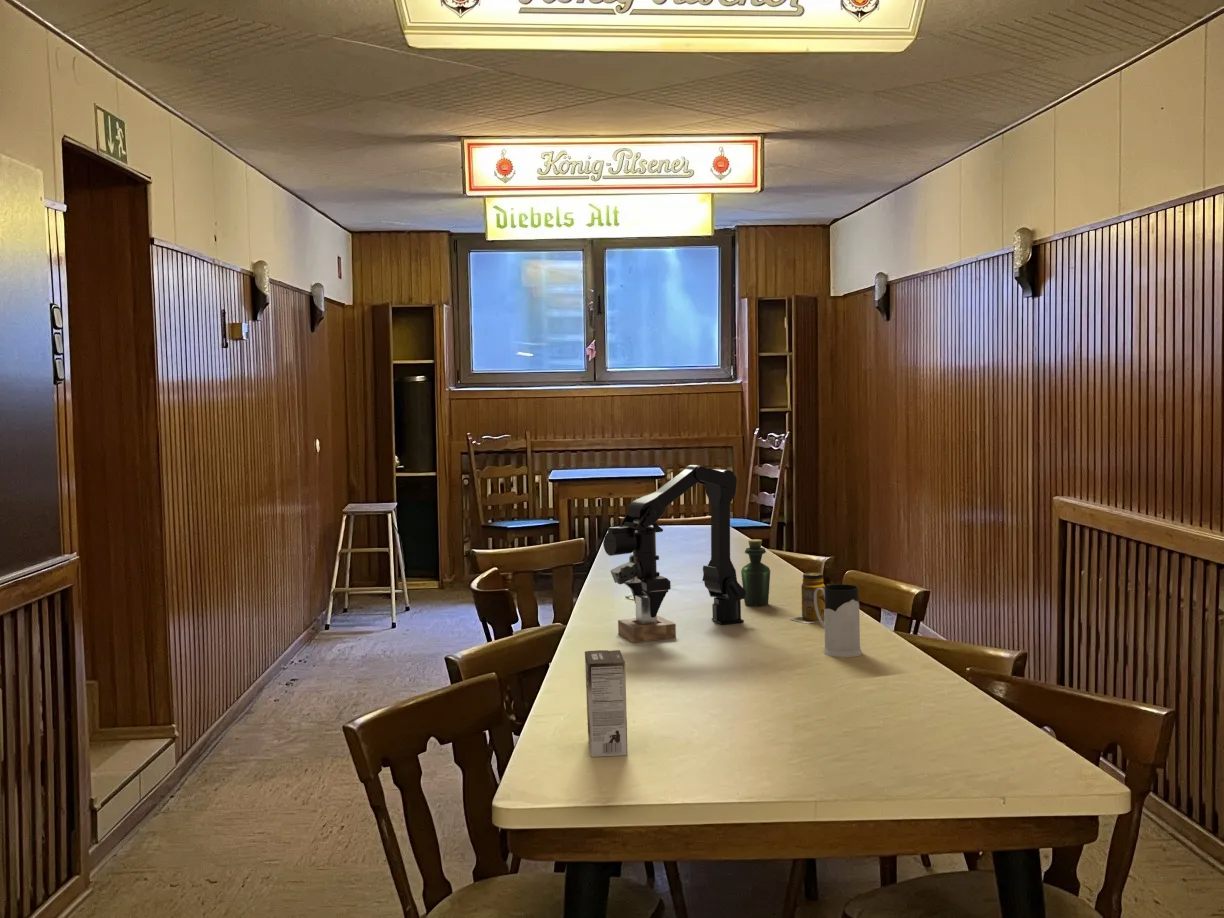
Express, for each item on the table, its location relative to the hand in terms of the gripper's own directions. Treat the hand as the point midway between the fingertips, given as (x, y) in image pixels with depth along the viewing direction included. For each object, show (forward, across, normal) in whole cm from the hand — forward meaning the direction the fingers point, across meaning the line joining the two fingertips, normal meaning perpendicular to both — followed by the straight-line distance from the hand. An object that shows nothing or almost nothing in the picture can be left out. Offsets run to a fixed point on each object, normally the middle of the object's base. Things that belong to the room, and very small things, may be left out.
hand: (646, 613), depth 281 cm
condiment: (+6, +2, +45) cm, 45 cm away
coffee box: (+6, +78, -38) cm, 87 cm away
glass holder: (+6, +34, +33) cm, 48 cm away
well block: (+6, 0, 0) cm, 6 cm away
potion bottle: (+6, -23, +42) cm, 48 cm away
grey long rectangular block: (+6, 0, 0) cm, 6 cm away
